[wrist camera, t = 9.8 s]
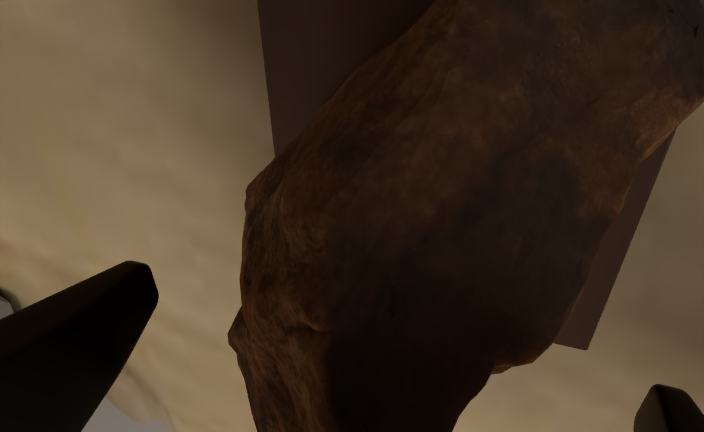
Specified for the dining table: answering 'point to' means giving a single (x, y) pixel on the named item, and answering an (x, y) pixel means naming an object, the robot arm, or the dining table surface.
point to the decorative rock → (451, 206)
